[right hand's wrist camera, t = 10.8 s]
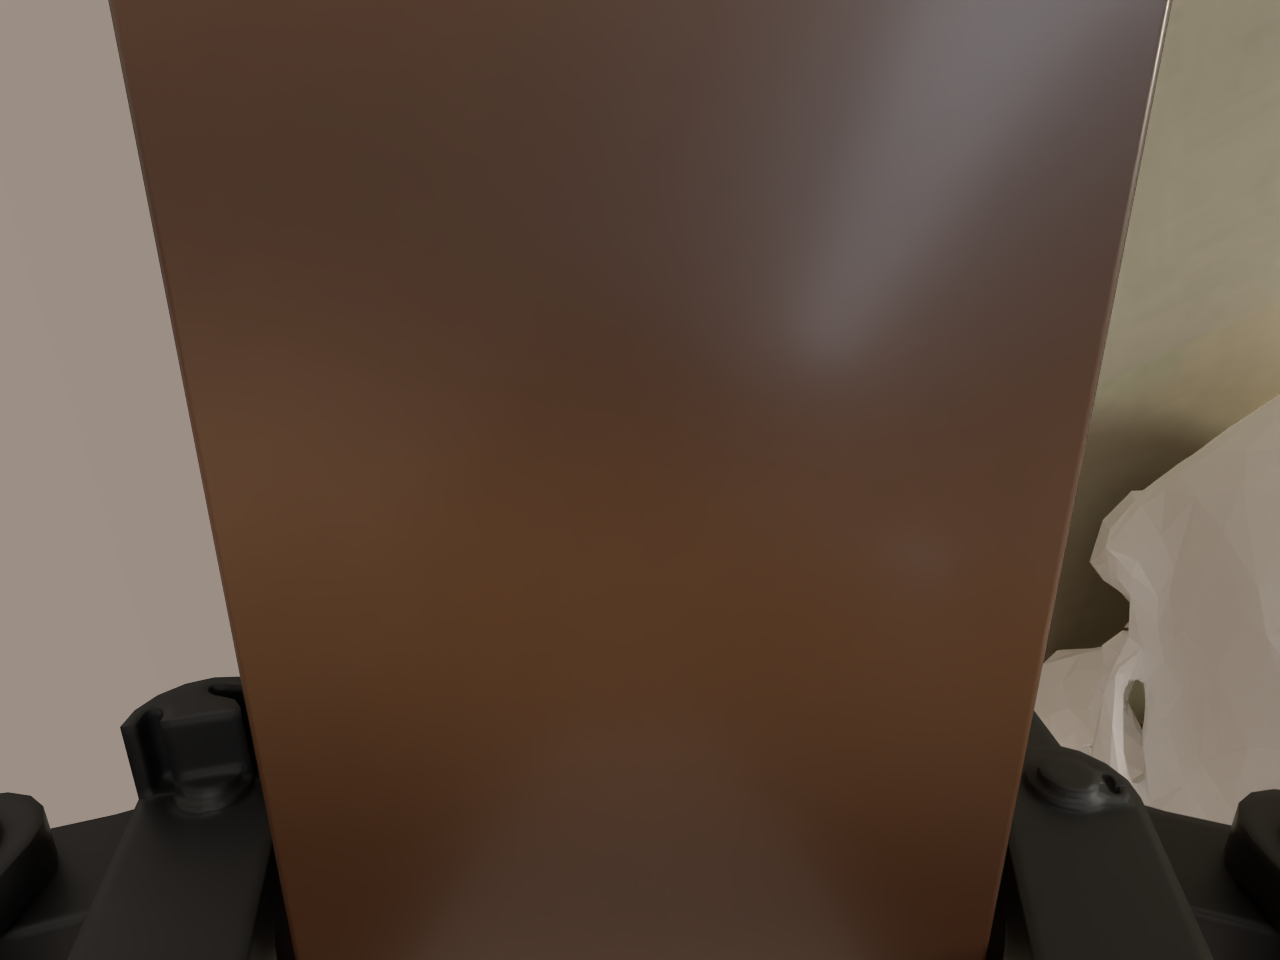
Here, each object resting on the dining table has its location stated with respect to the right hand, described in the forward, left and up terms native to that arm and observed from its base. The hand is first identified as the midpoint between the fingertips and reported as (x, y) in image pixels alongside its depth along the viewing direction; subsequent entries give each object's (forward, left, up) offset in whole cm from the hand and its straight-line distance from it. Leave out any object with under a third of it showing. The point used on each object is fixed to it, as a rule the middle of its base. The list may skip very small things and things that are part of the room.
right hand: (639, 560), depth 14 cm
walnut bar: (-7, -3, 0) cm, 8 cm away
